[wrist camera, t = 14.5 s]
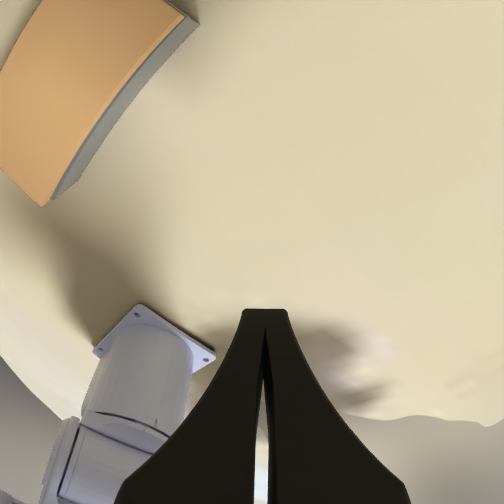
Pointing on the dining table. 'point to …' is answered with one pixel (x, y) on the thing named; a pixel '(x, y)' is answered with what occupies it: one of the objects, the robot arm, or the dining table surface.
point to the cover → (69, 80)
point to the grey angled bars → (124, 100)
